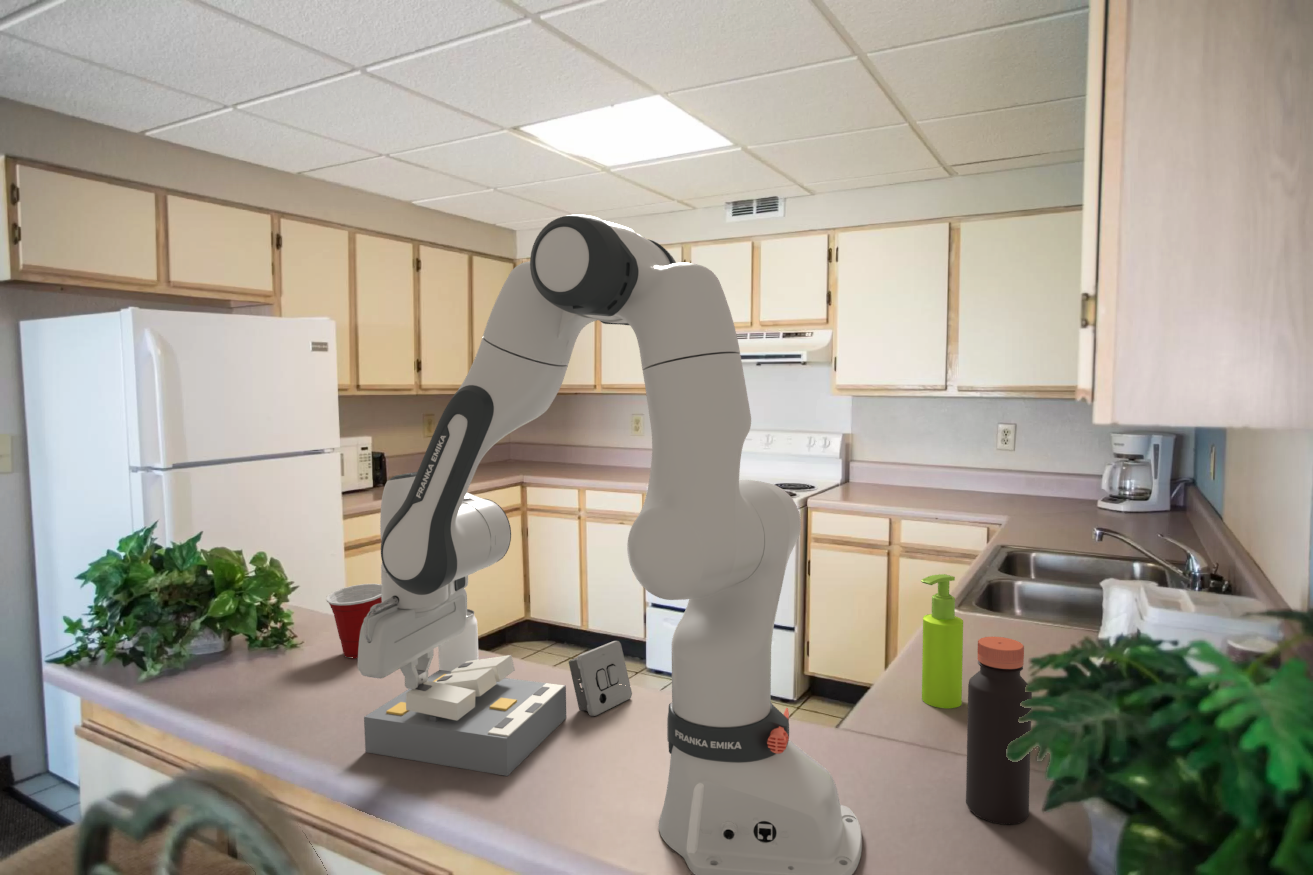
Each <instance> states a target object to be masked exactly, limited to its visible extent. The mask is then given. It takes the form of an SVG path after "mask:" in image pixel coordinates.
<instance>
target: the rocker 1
mask: <svg viewBox="0 0 1313 875" xmlns="http://www.w3.org/2000/svg"><path fill="white" fill-rule="evenodd" d="M475 691H476V690H471V689H466V688H461V687H456V686H451V685H446V684H441V683H436V682H431V681H426V682H425V683H423V684H421V685H420V686H419V687H417V688H415V689H411V690H410V691H408V692H407V693H406V710H410V711H414V712H419V713H424V714H428V715H433V716H438V717H442V718H447V719H452V720H456V721H457V720H459V719H460V718H461V717H463V716H464V715H465V714H466V713H468V712H469V711H470V710H472V709H473V708H474V707H475Z"/></svg>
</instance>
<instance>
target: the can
mask: <svg viewBox="0 0 1313 875" xmlns="http://www.w3.org/2000/svg"><path fill="white" fill-rule="evenodd" d="M478 632H479V629H478V619H477V617H476V616H475V611H474V610H473V609H469V608H467V622H466V625H465V628H464V630H463V632H462V633H460V634H459V635H457V636H455V637H453V638H452V639H450V640H448V641H446V642H445V643H443V644H441V645H440V646H438V647H437V650H438V652H437V653H438V671H439V670H445V671H452V670H454V669H456V668H457V667H459V666H460V665H462V664H463V663H465V662H466V661H472V660H479V633H478Z"/></svg>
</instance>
